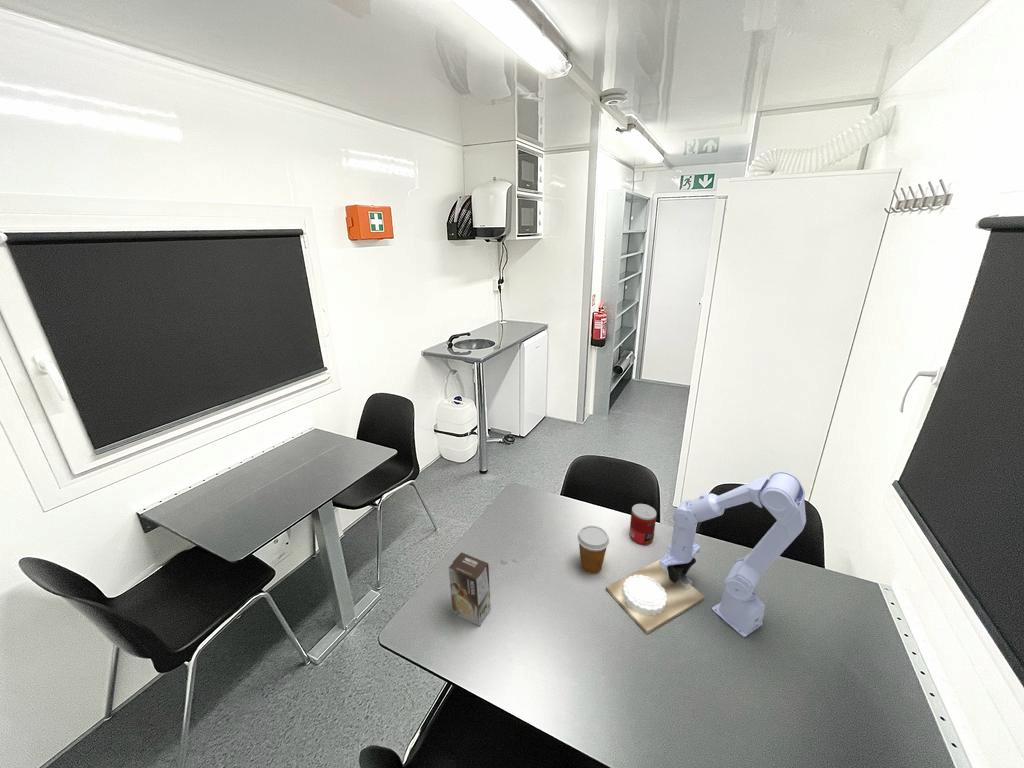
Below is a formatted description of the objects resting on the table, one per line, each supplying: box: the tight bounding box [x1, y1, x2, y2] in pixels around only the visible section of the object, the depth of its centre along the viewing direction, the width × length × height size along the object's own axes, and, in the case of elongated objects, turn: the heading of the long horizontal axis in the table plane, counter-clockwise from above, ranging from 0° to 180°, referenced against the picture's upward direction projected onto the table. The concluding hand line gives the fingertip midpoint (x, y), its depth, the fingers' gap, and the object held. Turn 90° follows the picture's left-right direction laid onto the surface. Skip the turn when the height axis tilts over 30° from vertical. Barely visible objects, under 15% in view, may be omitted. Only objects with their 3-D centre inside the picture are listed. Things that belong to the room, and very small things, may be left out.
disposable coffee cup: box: [576, 525, 610, 575], centre depth 122 cm, size 10×10×12 cm
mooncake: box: [622, 575, 667, 616], centre depth 111 cm, size 12×12×4 cm
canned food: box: [628, 503, 657, 546], centre depth 134 cm, size 8×8×11 cm
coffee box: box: [448, 552, 492, 627], centre depth 107 cm, size 9×6×16 cm
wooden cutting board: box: [605, 558, 706, 635], centre depth 113 cm, size 16×22×3 cm
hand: (676, 578), depth 117 cm, fingers open, 3 cm apart
